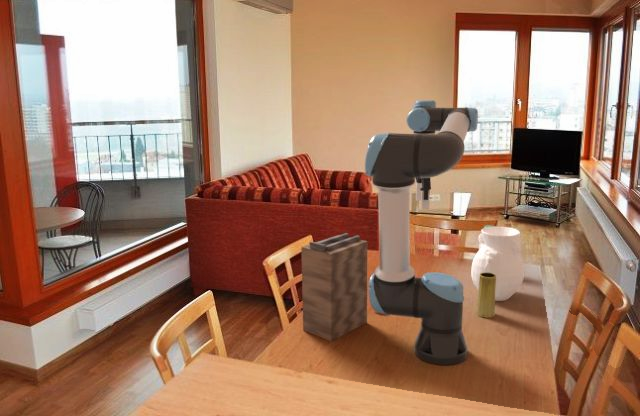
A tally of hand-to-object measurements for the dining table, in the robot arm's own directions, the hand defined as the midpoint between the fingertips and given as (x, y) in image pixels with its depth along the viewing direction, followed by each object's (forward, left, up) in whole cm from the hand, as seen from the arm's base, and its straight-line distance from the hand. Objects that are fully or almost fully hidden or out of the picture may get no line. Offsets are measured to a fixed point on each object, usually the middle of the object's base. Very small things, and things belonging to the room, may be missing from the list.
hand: (422, 204), depth 202 cm
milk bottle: (+25, -31, -35) cm, 53 cm away
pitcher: (0, -28, -35) cm, 45 cm away
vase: (-17, -20, -35) cm, 44 cm away
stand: (-27, +31, -35) cm, 54 cm away
